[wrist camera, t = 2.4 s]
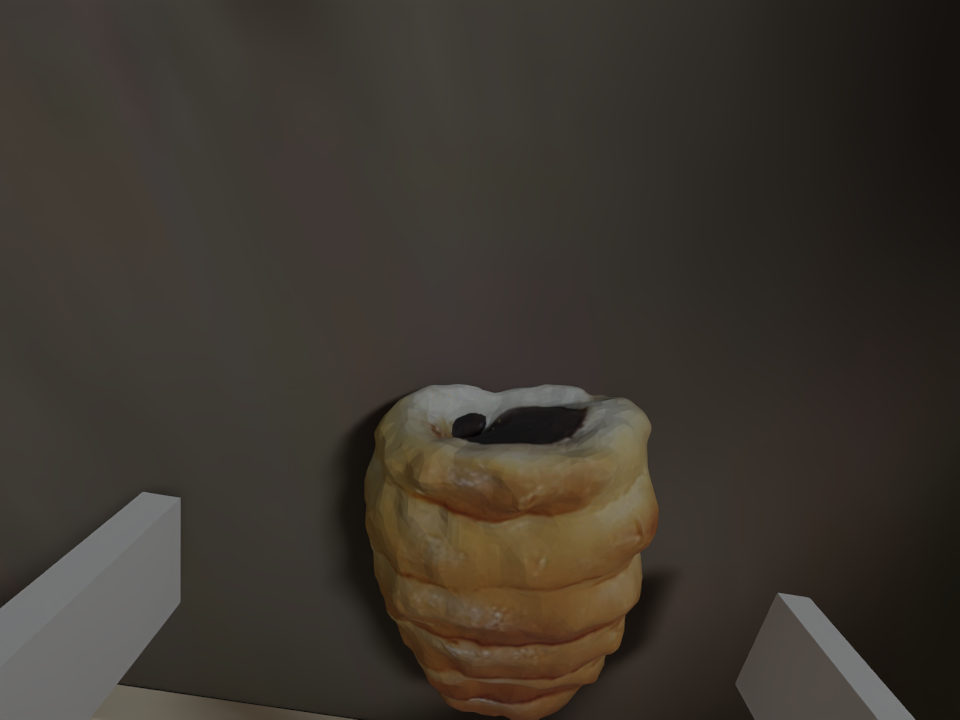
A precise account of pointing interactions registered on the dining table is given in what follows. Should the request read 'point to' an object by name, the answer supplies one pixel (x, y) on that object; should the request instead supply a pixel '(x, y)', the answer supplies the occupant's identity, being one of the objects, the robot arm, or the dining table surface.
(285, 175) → the dining table surface
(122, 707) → the serving board
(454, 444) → the pastry
